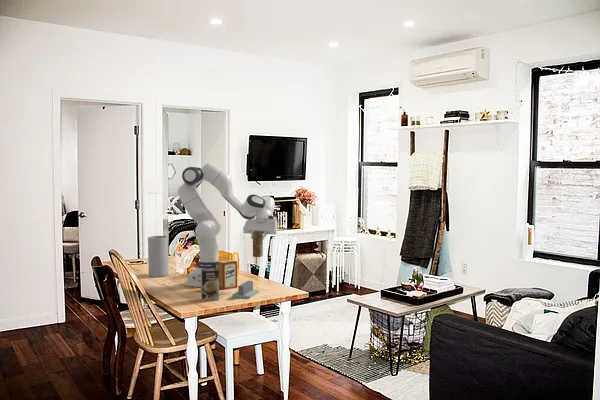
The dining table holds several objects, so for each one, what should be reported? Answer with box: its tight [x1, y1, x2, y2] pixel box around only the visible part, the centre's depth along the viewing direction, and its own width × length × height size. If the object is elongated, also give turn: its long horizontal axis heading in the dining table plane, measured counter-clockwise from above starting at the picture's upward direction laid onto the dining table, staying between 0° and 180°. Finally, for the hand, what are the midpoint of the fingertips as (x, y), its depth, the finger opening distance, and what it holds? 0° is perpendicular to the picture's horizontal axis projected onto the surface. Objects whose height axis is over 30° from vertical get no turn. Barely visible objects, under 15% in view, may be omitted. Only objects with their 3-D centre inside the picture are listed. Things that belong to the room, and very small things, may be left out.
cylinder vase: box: [147, 235, 170, 278], centre depth 356 cm, size 12×12×25 cm
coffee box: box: [200, 269, 220, 302], centre depth 295 cm, size 9×6×16 cm
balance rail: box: [232, 279, 260, 300], centre depth 305 cm, size 10×14×6 cm
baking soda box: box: [217, 259, 238, 291], centre depth 322 cm, size 10×6×16 cm
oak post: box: [252, 232, 264, 258], centre depth 318 cm, size 4×4×14 cm
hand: (257, 238), depth 317 cm, fingers closed on oak post, 4 cm apart
